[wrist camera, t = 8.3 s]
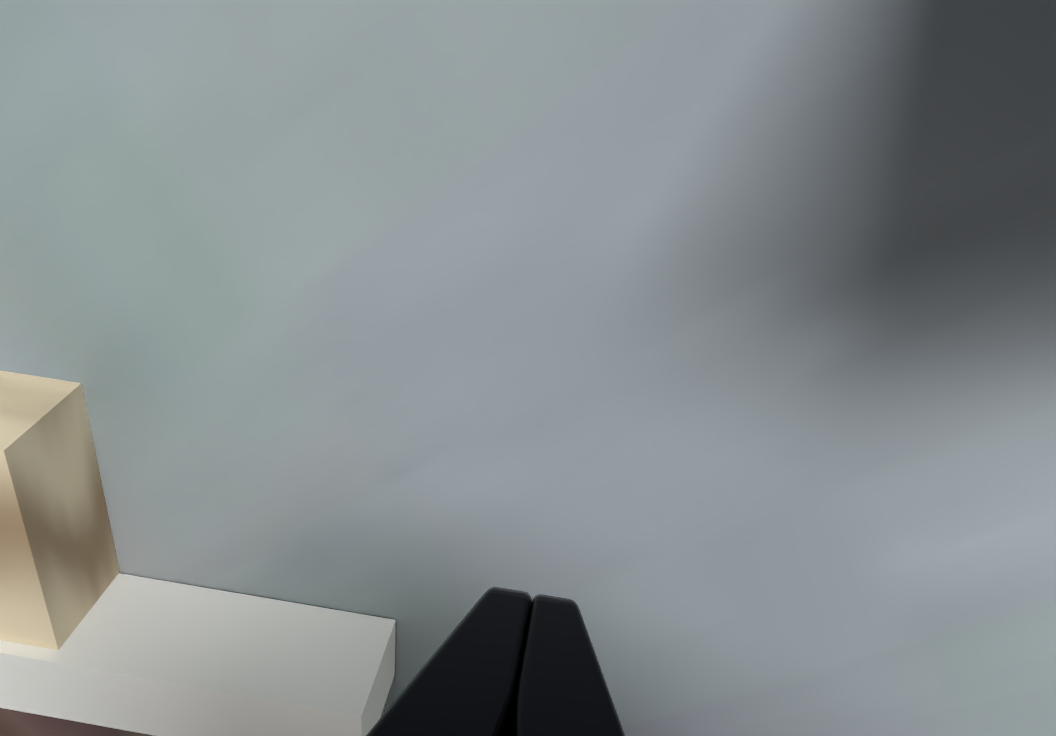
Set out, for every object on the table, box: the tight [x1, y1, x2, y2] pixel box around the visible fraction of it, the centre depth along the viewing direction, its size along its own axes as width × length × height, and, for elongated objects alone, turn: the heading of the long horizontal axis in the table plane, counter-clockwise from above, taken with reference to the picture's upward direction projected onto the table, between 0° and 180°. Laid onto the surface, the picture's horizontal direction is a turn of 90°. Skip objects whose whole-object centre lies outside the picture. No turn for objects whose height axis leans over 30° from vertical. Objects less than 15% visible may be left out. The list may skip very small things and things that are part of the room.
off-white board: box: [0, 573, 396, 736], centre depth 25 cm, size 2×19×4 cm, turn 85°
